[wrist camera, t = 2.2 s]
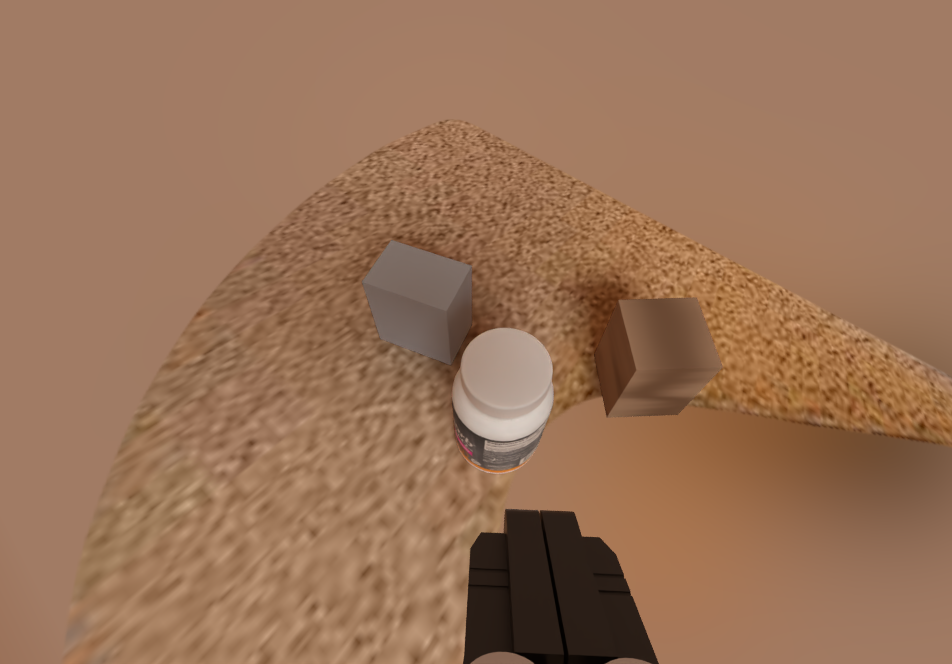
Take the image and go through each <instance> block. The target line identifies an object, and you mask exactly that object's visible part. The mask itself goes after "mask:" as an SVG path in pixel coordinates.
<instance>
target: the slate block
mask: <svg viewBox="0 0 952 664" xmlns="http://www.w3.org/2000/svg"><path fill="white" fill-rule="evenodd" d="M362 284H363V287H364V290H365V293H366V296H367V299H368V302H369V306H370V309H371V312H372V315H373V318H374V321H375V324H376V327H377V330H378V333H379V336H380V339H382V340H385V341H387V342H390V343H393V344H395V345H398V346H401V347H403V348H406V349H409V350H411V351H414V352H417V353H419V354H422V355H425V356H427V357H430V358H433V359H435V360H438V361H441V362H443V363H446V364H449V365H452V363H453V361H454V359H455V357H456V355H457V353H458V351H459V349H460V347H461V345H462V343H463V341H464V339H465V337H466V335H467V333H468V331H469V329H470V327H471V325H472V266H471V265H468V264H465V263H462V262H459V261H455V260H452V259H449V258H446V257H443V256H440V255H437V254H434V253H431V252H428V251H424V250H421V249H418V248H415V247H412V246H409V245H406V244H403V243H400V242H397V241H393V240H391V241H390V243H389V244H388V245H387V247H386V248H385V250H384V251H383V253H382V254H381V255H380V257H379V258H378V260H377V261H376V262H375V264H374V265H373V267H372V268H371V269H370V271H369V272H368V274H367V275H366V277H365V278H364V279H363V281H362Z"/></svg>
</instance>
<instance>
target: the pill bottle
mask: <svg viewBox="0 0 952 664" xmlns="http://www.w3.org/2000/svg"><path fill="white" fill-rule="evenodd" d="M552 374H553V367H552V361H551V358H550V355H549V353H548V351H547V350H546V348H545V347H544V345H543V344H542V343H541V342H540V341H539V340H538V339H536V338H535V337H534V336H532V335H531V334H529V333H527V332H524V331H522V330H519V329H514V328H496V329H491V330H488V331H486V332H484V333H482V334H480V335H478V336H477V337H476V338H474V339H473V340H472V341H471V342H470V343H469V345H468V346H467V347H466V349H465V351H464V353H463V356H462V359H461V365H460V369H459V370H458V372H457V374H456V376H455V379H454V382H453V388H452V405H453V416H454V430H455V438H456V442H457V445H458V448H459V450H460V452H461V454H462V455H463V457H464V458H465V459H466V460H467V461H468V462H469V463H470V464H471V465H473V466H474V467H476V468H477V469H479V470H481V471H484V472H487V473H493V474H502V473H508V472H511V471H514V470H516V469H518V468H520V467H521V466H523V465H524V464H525V463H526V462H527V461H528V460H529V459H530V458H531V457H532V455H533V454H534V452H535V450H536V448H537V446H538V444H539V441H540V438H541V436H542V433H543V430H544V427H545V424H546V422H547V419H548V417H549V414H550V412H551V409H552V406H553V399H554V392H553V384H552Z"/></svg>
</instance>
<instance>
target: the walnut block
mask: <svg viewBox="0 0 952 664" xmlns="http://www.w3.org/2000/svg"><path fill="white" fill-rule="evenodd" d="M594 357H595V362H596V367H597V372H598V376H599V381H600V386H601V391H602V396H603V401H604V406H605V411H606V415H607V417H632V416H659V415H678V414H679V413H680V412H681V411H682V410H683V409H684V407H685V406H686V405H687V404H688V403H689V402H690V401H691V400H692V399H693V398H694V397H695V396H696V395H697V394H698V393H699V392H700V391H701V390H702V389H703V388H704V386H705V385H706V384H707V383H708V382H709V381H710V380H711V379H712V378H713V377H714V376H715V375H716V374H717V373H718V372H719V371H720V370H721V369H722V368H723V366H722V364H721V361H720V358H719V356H718V353H717V350H716V348H715V345H714V342H713V340H712V337H711V334H710V332H709V329H708V326H707V324H706V321H705V318H704V316H703V313H702V310H701V308H700V305H699V302H698V300H697V298H665V299H632V300H618V302H617V304H616V306H615V309H614V311H613V313H612V315H611V318H610V320H609V322H608V325H607V327H606V329H605V331H604V334H603V336H602V338H601V341H600V343H599V345H598V347H597V350H596V352H595V354H594Z"/></svg>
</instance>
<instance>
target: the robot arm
mask: <svg viewBox="0 0 952 664" xmlns="http://www.w3.org/2000/svg"><path fill="white" fill-rule="evenodd" d="M463 664H659V663H658V661H657V658H656V656H655V653H654V650H653V648H652V645H651V643H650V640H649V638H648V635H647V633H646V630H645V628H644V625H643V622H642V620H641V617H640V615H639V612H638V610H637V607H636V605H635V602H634V599H633V597H632V596H631V594H630V589H629V587H628V584H627V582H626V579H624V574H623V572H622V569H621V566H620V564H619V561H618V559H617V556H616V554H615V553H614V552H613V551H612V550H611V549H610V548H609V547H608V546H607V545H606V544H605V543H604V542H603V541H602V539H601V538H599V537H582V536H581V532H580V529H579V526H578V522H577V519H576V516H575V513H574V512H568V511H544V510H540V513H539V511H538V510H518V509H505V517H504V533H484V532H481V533H480V535H479V536H478V538H477V539H476V541H475V542H474V544H473V545H472V547H471V549H470V566H469V583H468V601H467V618H466V635H465V652H464V661H463Z"/></svg>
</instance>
